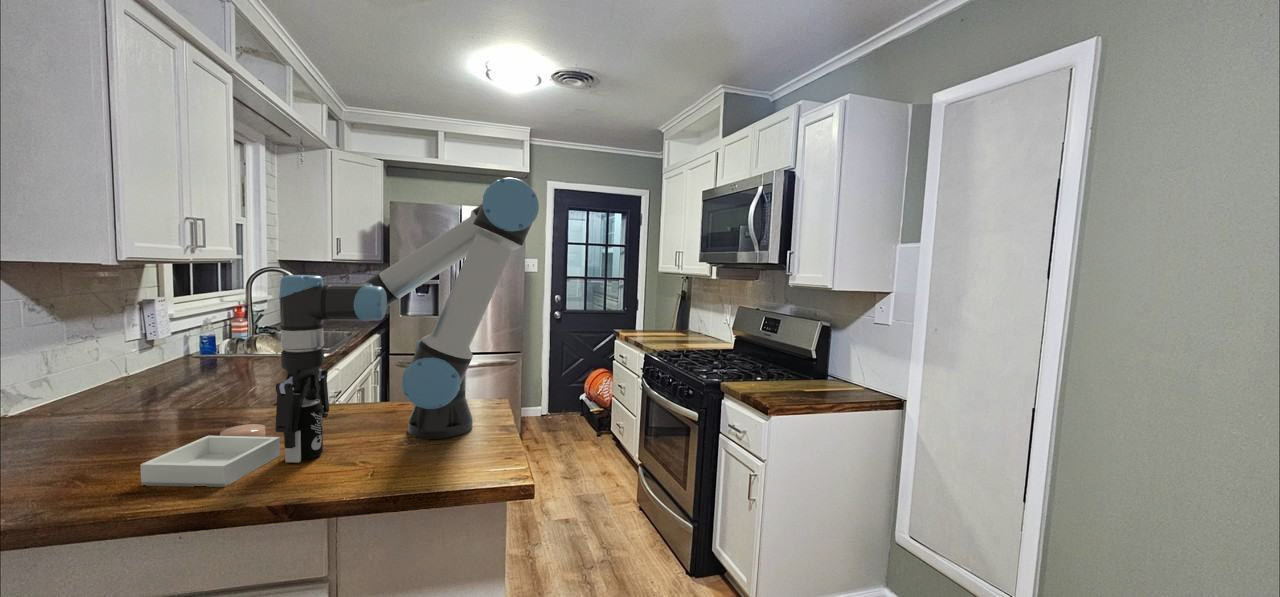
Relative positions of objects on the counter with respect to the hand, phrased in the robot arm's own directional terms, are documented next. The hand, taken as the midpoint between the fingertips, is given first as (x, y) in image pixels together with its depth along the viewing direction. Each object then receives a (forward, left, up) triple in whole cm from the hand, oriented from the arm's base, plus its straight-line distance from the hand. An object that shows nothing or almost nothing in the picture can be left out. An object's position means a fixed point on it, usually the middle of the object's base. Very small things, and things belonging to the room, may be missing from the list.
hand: (304, 454), depth 108 cm
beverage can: (0, 0, -1) cm, 1 cm away
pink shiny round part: (+18, -7, -1) cm, 19 cm away
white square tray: (+13, +7, -1) cm, 15 cm away
